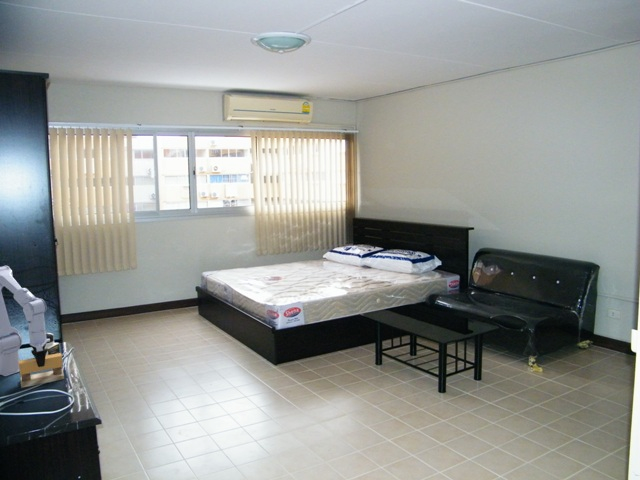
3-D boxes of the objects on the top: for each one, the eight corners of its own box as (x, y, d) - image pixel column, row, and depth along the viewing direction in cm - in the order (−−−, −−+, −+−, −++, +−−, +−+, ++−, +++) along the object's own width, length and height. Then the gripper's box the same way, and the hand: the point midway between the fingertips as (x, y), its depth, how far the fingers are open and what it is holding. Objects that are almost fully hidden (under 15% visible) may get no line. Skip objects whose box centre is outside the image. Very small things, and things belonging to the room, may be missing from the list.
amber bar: (20, 375, 201) (18, 363, 200) (19, 371, 204) (18, 360, 204) (62, 366, 208) (61, 355, 208) (62, 363, 212) (61, 352, 211)
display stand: (21, 387, 200) (19, 376, 199) (20, 380, 207) (19, 369, 206) (64, 378, 207) (63, 368, 207) (62, 372, 214) (61, 361, 214)
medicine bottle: (49, 364, 224) (46, 337, 222) (35, 363, 225) (32, 336, 223) (60, 358, 231) (58, 332, 229) (46, 357, 232) (44, 331, 230)
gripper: (49, 333, 200) (53, 367, 202) (47, 323, 212) (50, 355, 214) (28, 336, 196) (32, 371, 198) (27, 327, 209) (31, 359, 211)
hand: (40, 363), depth 206 cm, fingers open, 7 cm apart
